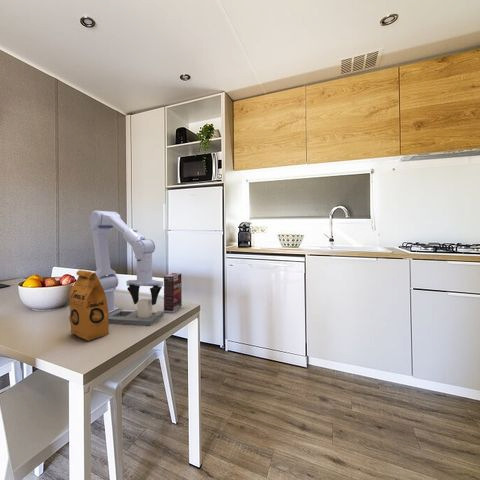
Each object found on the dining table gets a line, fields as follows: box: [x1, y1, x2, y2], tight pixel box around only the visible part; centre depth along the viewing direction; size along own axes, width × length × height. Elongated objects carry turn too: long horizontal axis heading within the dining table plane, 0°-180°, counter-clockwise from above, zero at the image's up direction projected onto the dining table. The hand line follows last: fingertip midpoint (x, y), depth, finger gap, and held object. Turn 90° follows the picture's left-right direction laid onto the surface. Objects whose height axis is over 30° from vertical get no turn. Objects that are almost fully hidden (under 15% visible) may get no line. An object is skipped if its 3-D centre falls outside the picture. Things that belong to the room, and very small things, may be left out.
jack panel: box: [108, 308, 165, 327], centre depth 97 cm, size 20×11×2 cm, turn 82°
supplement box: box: [163, 272, 183, 314], centre depth 108 cm, size 9×5×16 cm, turn 168°
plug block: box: [137, 298, 153, 318], centre depth 96 cm, size 4×4×8 cm
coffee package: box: [68, 269, 110, 342], centre depth 83 cm, size 10×12×22 cm
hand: (145, 303), depth 96 cm, fingers open, 7 cm apart
